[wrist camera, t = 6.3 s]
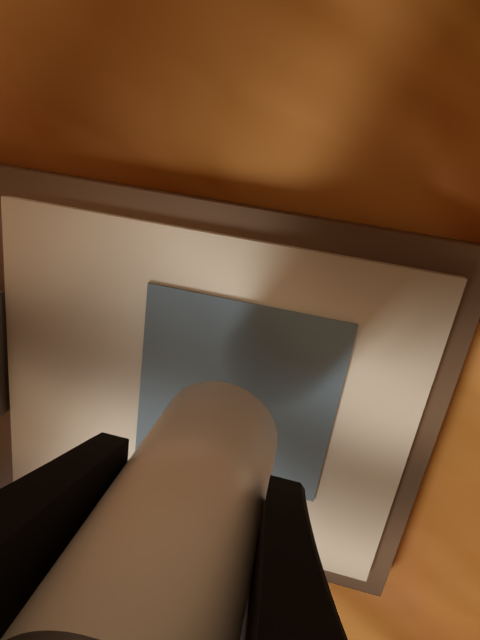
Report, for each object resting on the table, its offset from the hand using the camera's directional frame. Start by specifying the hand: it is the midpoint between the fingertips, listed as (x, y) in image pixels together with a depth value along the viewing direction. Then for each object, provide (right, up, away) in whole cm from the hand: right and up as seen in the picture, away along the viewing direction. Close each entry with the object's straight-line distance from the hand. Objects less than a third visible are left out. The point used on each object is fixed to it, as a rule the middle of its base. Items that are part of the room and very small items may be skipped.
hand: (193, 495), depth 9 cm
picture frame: (-1, +2, +6) cm, 6 cm away
